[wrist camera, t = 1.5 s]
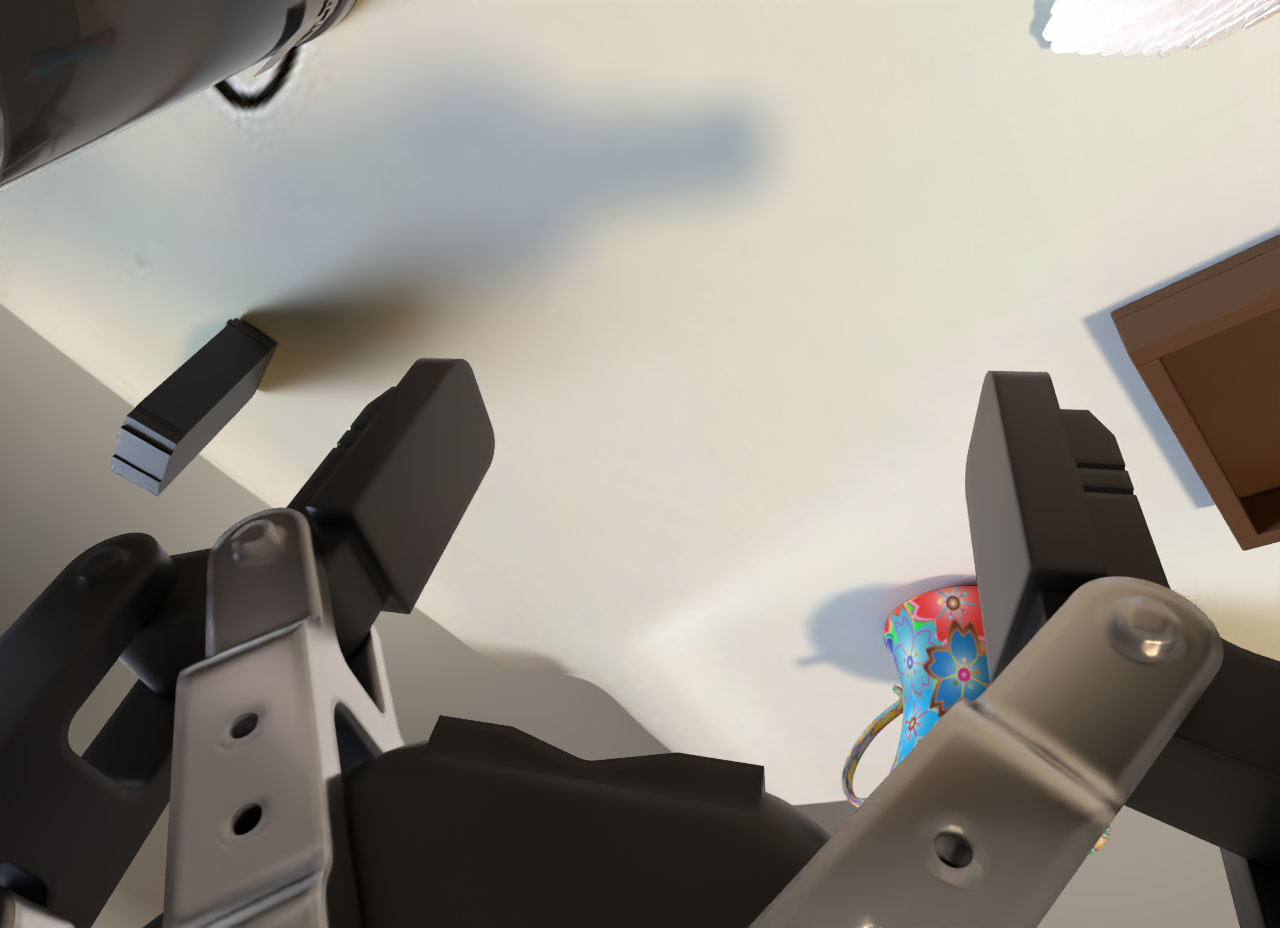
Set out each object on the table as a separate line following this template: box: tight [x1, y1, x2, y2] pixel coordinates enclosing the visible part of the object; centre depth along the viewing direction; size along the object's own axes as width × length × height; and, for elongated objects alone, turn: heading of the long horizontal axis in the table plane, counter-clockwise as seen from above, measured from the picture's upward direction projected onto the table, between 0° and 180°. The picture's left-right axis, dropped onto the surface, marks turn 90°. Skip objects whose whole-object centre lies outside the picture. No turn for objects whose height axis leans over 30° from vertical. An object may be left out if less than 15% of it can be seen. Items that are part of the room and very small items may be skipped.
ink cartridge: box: [111, 318, 277, 496], centre depth 35 cm, size 5×2×8 cm, turn 143°
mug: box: [842, 586, 1111, 855], centre depth 37 cm, size 12×9×11 cm
